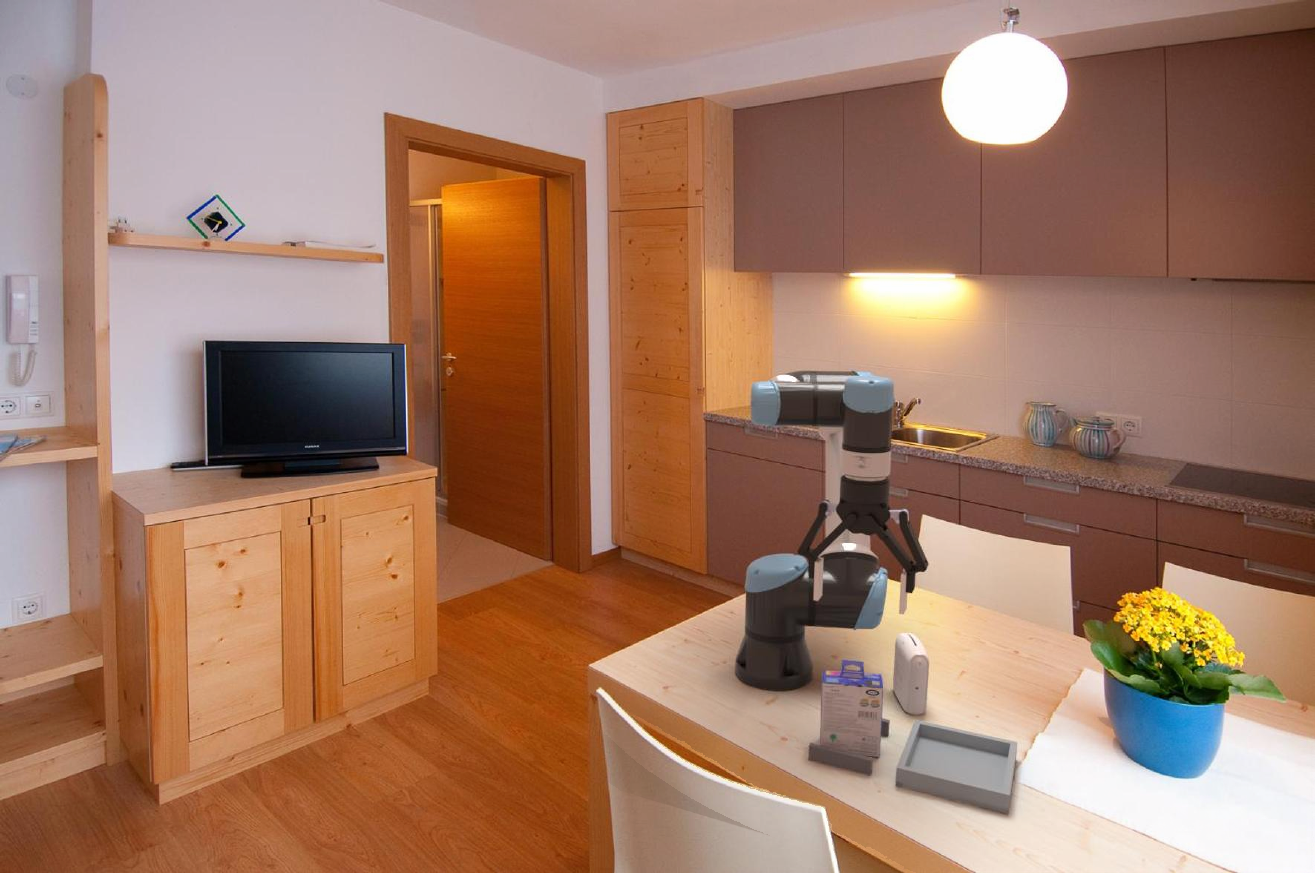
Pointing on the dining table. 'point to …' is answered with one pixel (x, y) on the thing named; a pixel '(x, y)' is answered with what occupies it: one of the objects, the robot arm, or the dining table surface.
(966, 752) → the tray
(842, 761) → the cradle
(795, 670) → the robot arm
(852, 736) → the ink cartridge box
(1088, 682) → the dining table surface
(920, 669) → the photo printer
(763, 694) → the dining table surface
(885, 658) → the dining table surface
